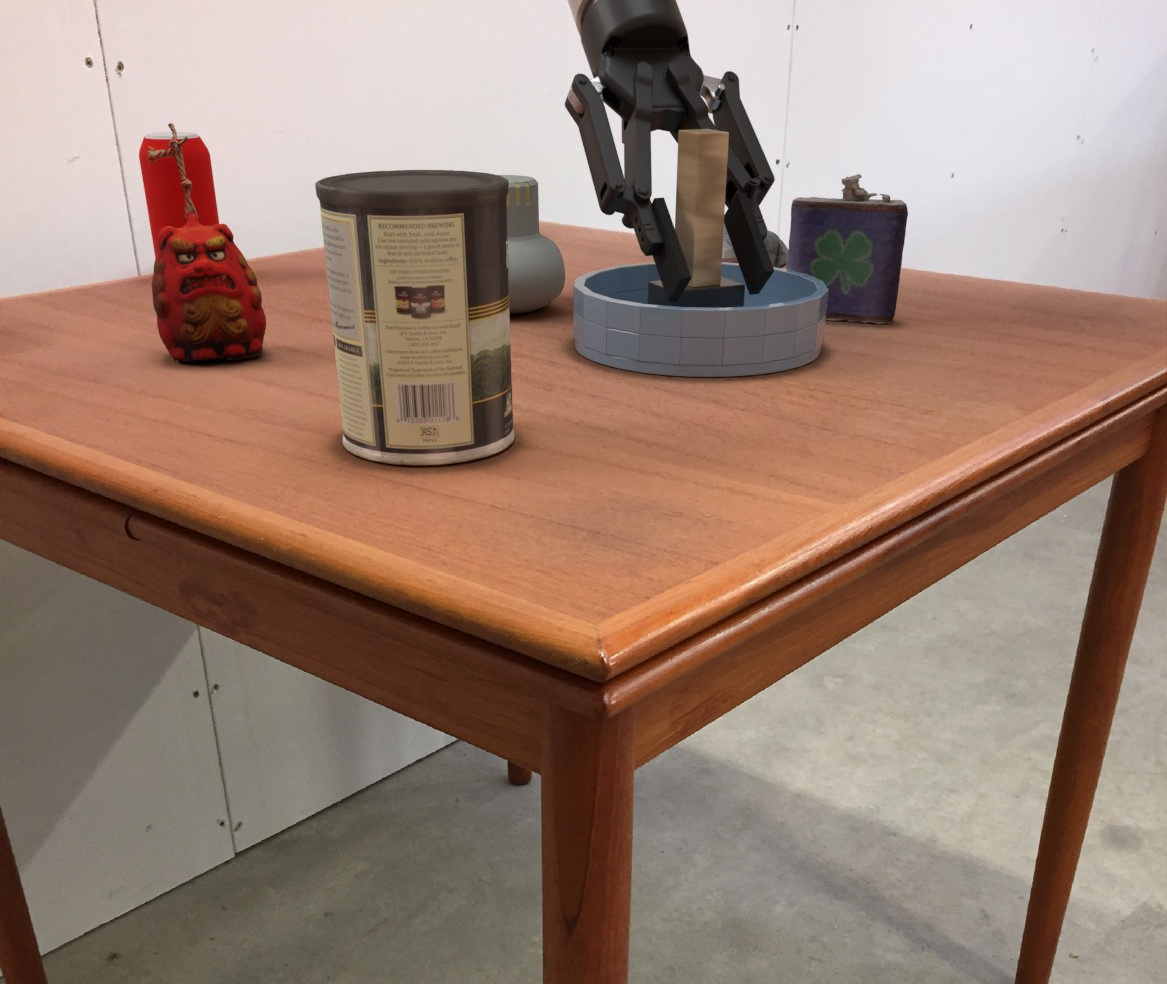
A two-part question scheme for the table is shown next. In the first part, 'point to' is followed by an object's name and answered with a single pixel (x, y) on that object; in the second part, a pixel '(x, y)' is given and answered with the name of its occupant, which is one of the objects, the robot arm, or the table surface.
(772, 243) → the packaged food
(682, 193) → the brush
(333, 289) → the coffee can
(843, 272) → the flask
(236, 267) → the red clay folk toy
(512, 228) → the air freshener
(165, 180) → the beverage can
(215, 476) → the table surface
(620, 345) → the bowl
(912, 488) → the table surface
